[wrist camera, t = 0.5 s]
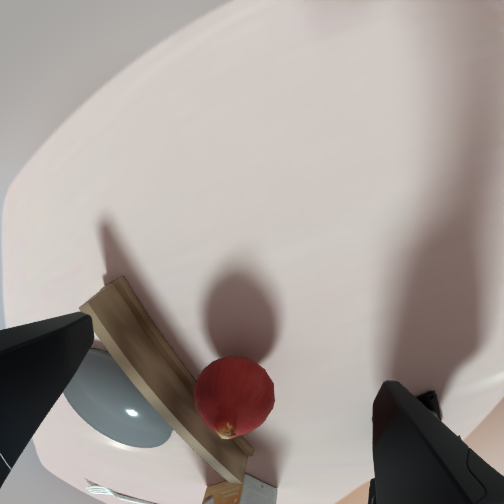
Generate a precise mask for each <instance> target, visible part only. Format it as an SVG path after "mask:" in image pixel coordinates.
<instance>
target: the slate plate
mask: <svg viewBox="0 0 504 504" xmlns="http://www.w3.org/2000/svg"><path fill="white" fill-rule="evenodd" d="M63 393H64V395H65V397H66V399H67V400H68V402H69V403H70V405H71V406H72V407H73V409H74V410H75V411H76V412H77V413H78V414H79V416H80V417H81V418H82V419H84V420H85V421H86V422H87V423H88V424H89V425H90V426H92V427H93V428H94V429H96V430H97V431H99V432H100V433H102V434H103V435H105V436H107V437H109V438H111V439H113V440H115V441H117V442H120V443H122V444H125V445H129V446H133V447H139V448H152V447H157V446H160V445H162V444H164V443H165V442H166V441H167V440H168V439H169V437H170V435H171V433H172V431H173V428H172V427H171V426H170V425H169V424H168V423H167V422H166V421H165V420H164V419H163V417H162V416H161V415H160V414H159V413H158V412H157V411H156V410H155V409H154V407H153V406H152V405H151V404H150V403H149V402H148V401H147V399H146V398H145V397H144V396H143V395H142V393H141V392H140V391H139V390H138V389H137V387H136V386H135V385H134V384H133V383H132V381H131V380H130V379H129V378H128V376H127V375H126V374H125V373H124V371H123V370H122V369H121V367H120V366H119V365H118V364H117V362H116V361H115V360H114V358H113V357H112V356H111V354H110V353H109V352H106V351H103V350H100V349H94V348H90V349H89V351H88V353H87V354H86V356H85V358H84V359H83V361H82V363H81V365H80V366H79V368H78V370H77V372H76V373H75V375H74V377H73V378H72V380H71V381H70V383H69V384H68V385H67V387H66V388H65V390H64V391H63Z"/></svg>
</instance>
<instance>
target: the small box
mask: <svg viewBox="0 0 504 504" xmlns="http://www.w3.org/2000/svg"><path fill="white" fill-rule="evenodd" d="M276 499H277V489H276V488H274V487H272V486H270V485H268V484H265V483H263V482H261V481H259V480H257V479H255V478H253V477H251V476H249V475H247V474H245V475H244V480H243V484H236V485H232V484H230V483H229V482H228V481H225V482H222V483H219V484H216V485H211V486H208V487H207V489H206V492H205V496H204V499H203V502H202V504H276Z"/></svg>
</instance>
